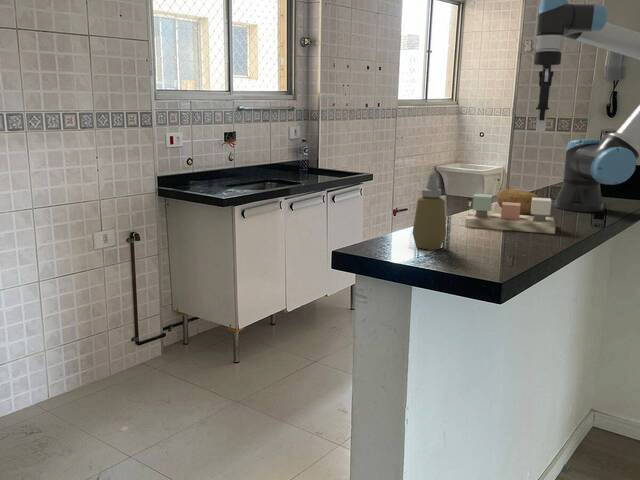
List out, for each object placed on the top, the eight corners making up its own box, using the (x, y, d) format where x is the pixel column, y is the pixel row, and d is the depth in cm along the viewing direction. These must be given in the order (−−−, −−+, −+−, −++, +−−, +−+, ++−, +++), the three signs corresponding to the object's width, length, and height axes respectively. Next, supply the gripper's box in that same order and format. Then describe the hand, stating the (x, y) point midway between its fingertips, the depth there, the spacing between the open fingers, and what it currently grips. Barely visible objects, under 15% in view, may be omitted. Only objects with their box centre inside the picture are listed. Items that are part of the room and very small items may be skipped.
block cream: (548, 219, 173) (550, 198, 171) (549, 223, 168) (551, 201, 167) (530, 218, 174) (532, 197, 173) (530, 221, 169) (532, 200, 168)
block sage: (490, 215, 177) (492, 194, 176) (489, 218, 173) (491, 197, 171) (473, 214, 179) (474, 193, 177) (471, 217, 174) (473, 196, 173)
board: (552, 225, 176) (553, 217, 175) (554, 233, 165) (555, 225, 164) (468, 219, 183) (469, 211, 182) (465, 226, 172) (465, 218, 171)
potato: (530, 220, 184) (533, 194, 182) (489, 213, 193) (491, 188, 191) (545, 216, 190) (547, 191, 188) (504, 210, 200) (506, 186, 198)
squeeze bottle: (423, 253, 141) (427, 176, 137) (405, 245, 149) (408, 172, 144) (451, 250, 144) (456, 175, 140) (432, 242, 152) (437, 171, 148)
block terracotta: (518, 224, 175) (520, 203, 174) (518, 227, 171) (520, 205, 169) (500, 222, 177) (502, 201, 175) (500, 225, 172) (502, 204, 171)
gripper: (534, 53, 186) (527, 130, 192) (535, 49, 174) (527, 131, 180) (560, 52, 184) (552, 130, 190) (563, 49, 172) (554, 132, 177)
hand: (540, 131), depth 185 cm, fingers closed
